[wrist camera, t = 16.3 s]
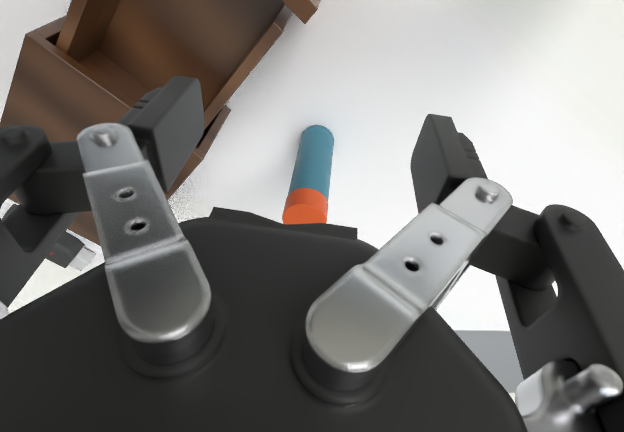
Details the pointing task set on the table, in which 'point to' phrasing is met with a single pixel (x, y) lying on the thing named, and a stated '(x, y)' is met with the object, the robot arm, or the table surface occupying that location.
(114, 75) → the drawer
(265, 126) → the table surface
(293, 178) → the glue stick
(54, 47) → the cabinet
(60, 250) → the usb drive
